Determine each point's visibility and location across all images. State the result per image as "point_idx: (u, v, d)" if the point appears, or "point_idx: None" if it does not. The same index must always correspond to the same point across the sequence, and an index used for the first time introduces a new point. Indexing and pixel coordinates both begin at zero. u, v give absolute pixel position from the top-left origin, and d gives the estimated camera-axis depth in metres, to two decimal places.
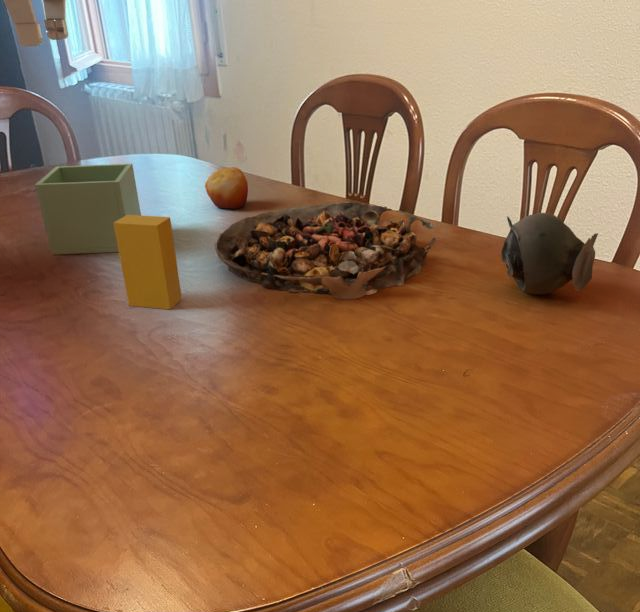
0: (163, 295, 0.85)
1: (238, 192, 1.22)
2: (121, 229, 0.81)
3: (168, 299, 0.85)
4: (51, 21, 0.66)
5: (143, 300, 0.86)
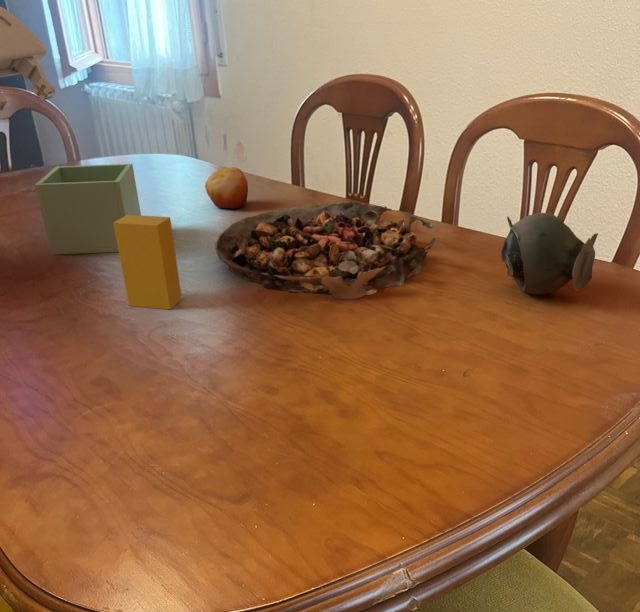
0: (163, 295, 0.85)
1: (238, 192, 1.22)
2: (121, 229, 0.81)
3: (168, 299, 0.85)
4: (35, 87, 0.80)
5: (143, 300, 0.86)
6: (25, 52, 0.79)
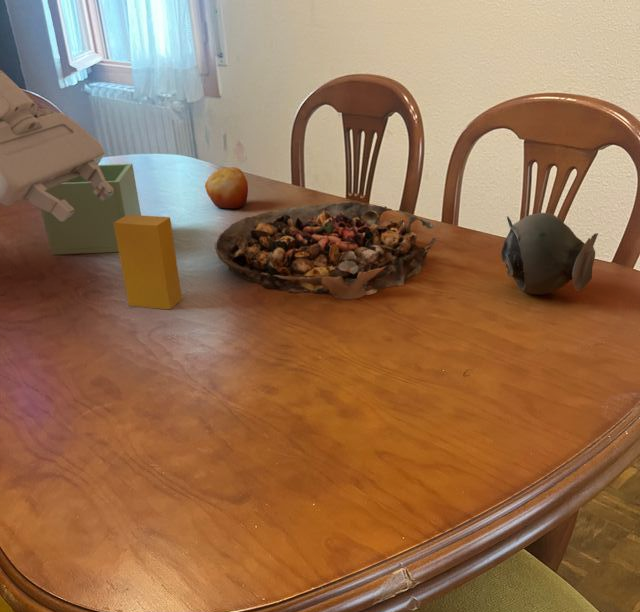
0: (163, 295, 0.85)
1: (238, 192, 1.22)
2: (121, 229, 0.81)
3: (168, 299, 0.85)
4: (96, 189, 0.86)
5: (143, 300, 0.86)
6: (87, 157, 0.85)
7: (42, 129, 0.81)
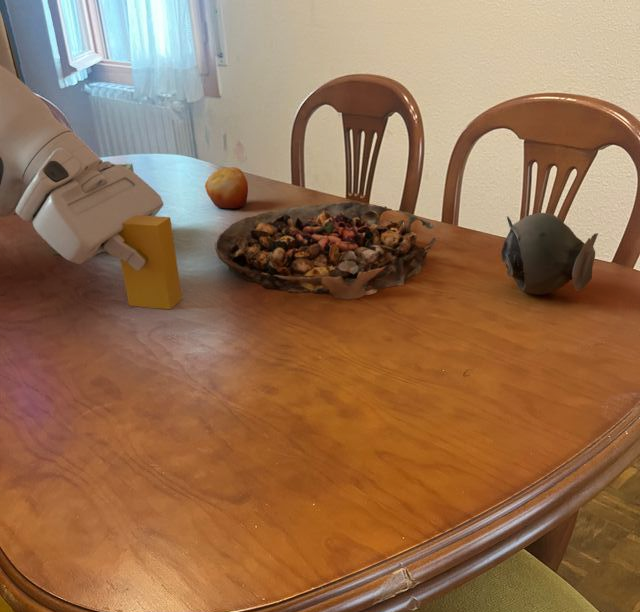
0: (163, 295, 0.85)
1: (238, 192, 1.22)
2: None
3: (168, 299, 0.85)
4: None
5: (143, 300, 0.86)
6: (149, 210, 0.86)
7: (107, 185, 0.83)
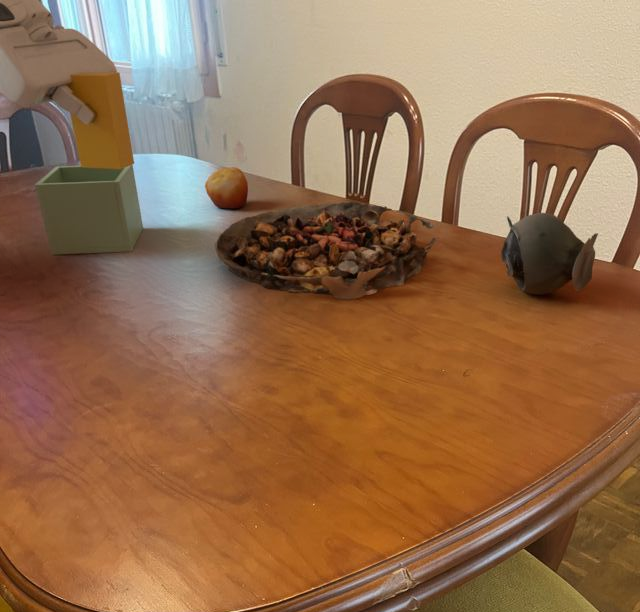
0: (113, 154, 0.86)
1: (238, 192, 1.22)
2: None
3: (118, 158, 0.86)
4: None
5: (94, 161, 0.87)
6: None
7: (58, 41, 0.84)
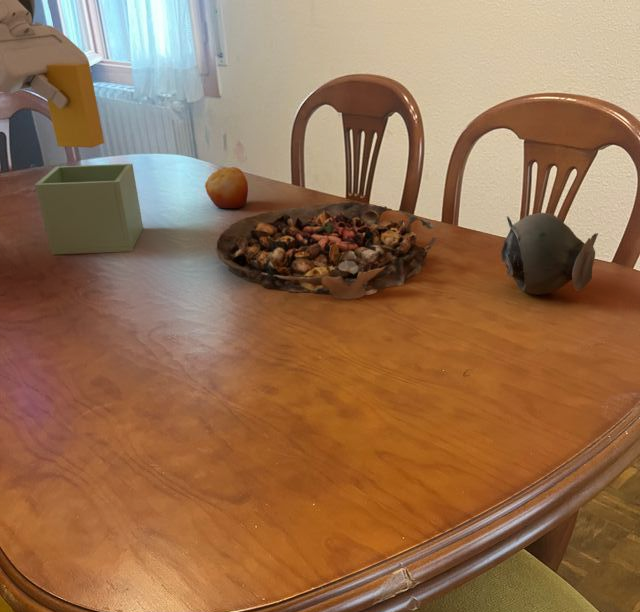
0: (85, 134, 0.99)
1: (238, 192, 1.22)
2: None
3: (89, 137, 0.99)
4: None
5: (69, 140, 1.00)
6: None
7: (35, 36, 0.97)
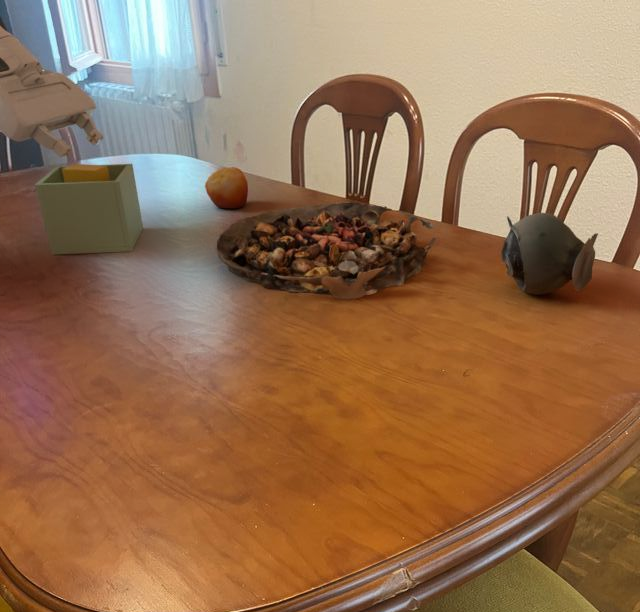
0: None
1: (238, 192, 1.22)
2: (68, 174, 1.03)
3: None
4: (89, 135, 1.05)
5: None
6: (82, 109, 1.04)
7: (45, 84, 1.01)
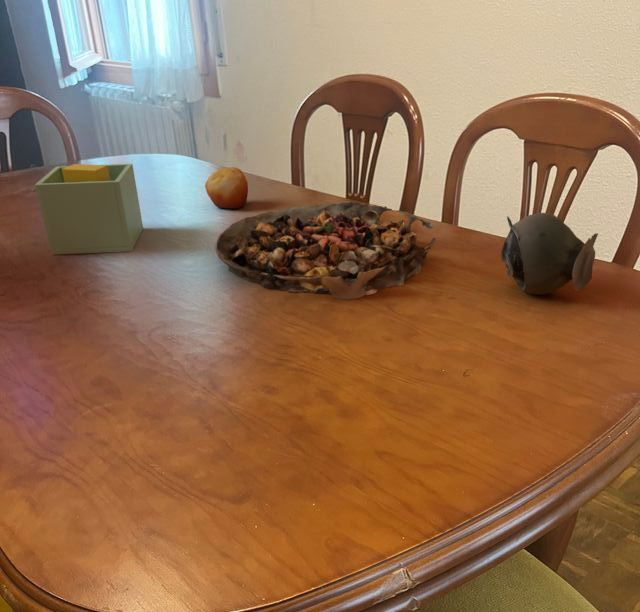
0: None
1: (238, 192, 1.22)
2: (68, 174, 1.03)
3: None
4: None
5: None
6: None
7: None
